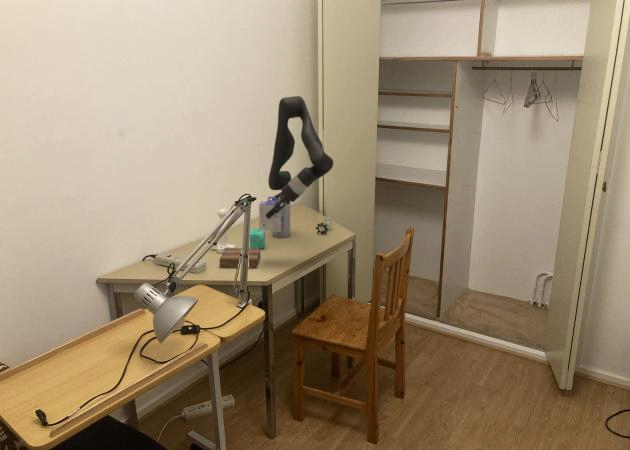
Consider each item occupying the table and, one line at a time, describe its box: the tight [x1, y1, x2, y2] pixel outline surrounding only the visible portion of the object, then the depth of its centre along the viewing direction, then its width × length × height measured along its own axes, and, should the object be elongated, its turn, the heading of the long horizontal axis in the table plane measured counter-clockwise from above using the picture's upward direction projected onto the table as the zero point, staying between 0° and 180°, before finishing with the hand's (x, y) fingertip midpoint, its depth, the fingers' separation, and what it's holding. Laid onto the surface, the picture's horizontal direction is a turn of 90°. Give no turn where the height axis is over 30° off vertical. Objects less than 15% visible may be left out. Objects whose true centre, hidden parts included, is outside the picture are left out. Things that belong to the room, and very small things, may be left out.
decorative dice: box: [249, 228, 266, 250], centre depth 256 cm, size 8×8×8 cm
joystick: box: [211, 208, 236, 254], centre depth 248 cm, size 11×8×20 cm
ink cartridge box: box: [258, 196, 284, 232], centre depth 231 cm, size 10×6×14 cm, turn 80°
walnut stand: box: [219, 247, 261, 269], centre depth 237 cm, size 14×16×4 cm
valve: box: [315, 216, 333, 236], centre depth 280 cm, size 7×7×12 cm
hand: (267, 214), depth 231 cm, fingers closed on ink cartridge box, 6 cm apart
